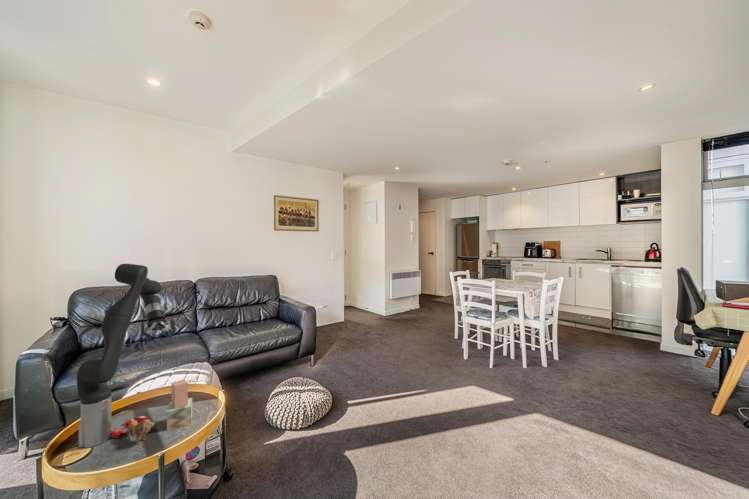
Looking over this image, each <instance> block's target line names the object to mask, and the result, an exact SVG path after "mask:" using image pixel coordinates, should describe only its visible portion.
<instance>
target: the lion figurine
mask: <svg viewBox="0 0 749 499" xmlns="http://www.w3.org/2000/svg"><path fill="white" fill-rule="evenodd" d="M154 425H155V422H154V421H151V420H150V419H147V420H144V421H143V422H141V423H138V422H137V421H132V422H131V423H130V424H129V427H128V432H127V433H126V434H125V435H124V436H126V435H127V441H131V440H132V438H131V434H132V435H133V436H134V435H135V440H136V441H135V442H136V443H135V444H136V446H139V445H140V444H141V442H140V437H141V441H145V440H147V437H145V436H146V435H147V434H148V433H149V432H150V431H151V429H152V428H154ZM131 431H132V432H131Z"/></svg>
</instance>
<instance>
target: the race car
mask: <svg viewBox="0 0 749 499" xmlns="http://www.w3.org/2000/svg"><path fill="white" fill-rule="evenodd" d="M147 419H148V416H145V415H141V416H135V417H133V418H131V419H129V420H126V421H125V422H124V423H122V424H121V425H120V426H118V427H117V428H115V429H113V430H112V432H111V437H110V439H111V438H112V439H120V438H123V437H124V436H126V435H125V434H126V433H127V432H128V427H129V424H130V423H131V422H132V421H137V422H138V423H141V422H143V421H144V420H147ZM148 420H149V419H148ZM131 433H132V431H131Z"/></svg>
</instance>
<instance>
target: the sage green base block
mask: <svg viewBox="0 0 749 499" xmlns="http://www.w3.org/2000/svg"><path fill="white" fill-rule="evenodd" d="M192 421H193V397H188V404H187V405H185V406H182V407H179V408H176V409H175V408H174V407H173V406H172V401H170V402H169V403H168V406H167V411H166V430H167V431H169V430H174V429H178V428H181V427H186V426H190V425H192Z"/></svg>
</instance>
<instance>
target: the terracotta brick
mask: <svg viewBox="0 0 749 499" xmlns="http://www.w3.org/2000/svg"><path fill="white" fill-rule="evenodd" d="M188 384H189V382H188V381H187V380H185V379H181V380H178V381H174V382H171V402H172V406H173V407H174V408H175V409H176V408H179V407H182V406H185V405H187V404H188V398H189V396H188V393H189V392H188V390H189V385H188Z"/></svg>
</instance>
